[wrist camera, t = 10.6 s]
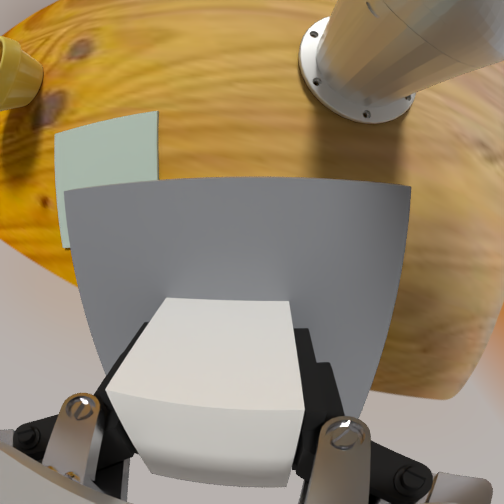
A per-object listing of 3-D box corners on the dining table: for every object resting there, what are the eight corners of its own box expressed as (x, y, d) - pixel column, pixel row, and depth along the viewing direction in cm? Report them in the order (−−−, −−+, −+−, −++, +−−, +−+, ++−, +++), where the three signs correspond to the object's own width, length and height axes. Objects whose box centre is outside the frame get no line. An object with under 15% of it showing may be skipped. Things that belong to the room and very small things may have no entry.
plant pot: (51, 104, 23) (-5, 97, 14) (7, 130, 24) (-42, 131, 14) (58, 39, 20) (11, 20, 11) (12, 69, 21) (-32, 61, 11)
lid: (77, 188, 10) (-35, 218, 4) (398, 184, 9) (515, 213, 3) (132, 410, 14) (97, 484, 8) (348, 421, 13) (368, 505, 7)
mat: (56, 134, 24) (54, 134, 24) (158, 111, 24) (157, 110, 23) (64, 246, 28) (62, 247, 28) (163, 247, 28) (162, 248, 27)
